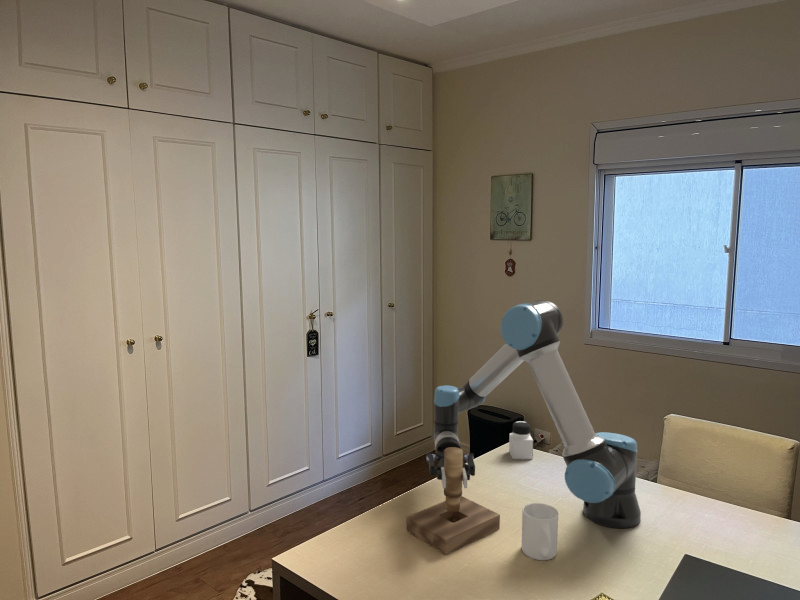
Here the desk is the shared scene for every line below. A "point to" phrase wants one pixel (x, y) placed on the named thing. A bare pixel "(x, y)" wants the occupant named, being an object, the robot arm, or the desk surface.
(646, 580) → the desk surface
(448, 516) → the seat board
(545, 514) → the mug
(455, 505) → the oak leg
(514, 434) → the medicine bottle
